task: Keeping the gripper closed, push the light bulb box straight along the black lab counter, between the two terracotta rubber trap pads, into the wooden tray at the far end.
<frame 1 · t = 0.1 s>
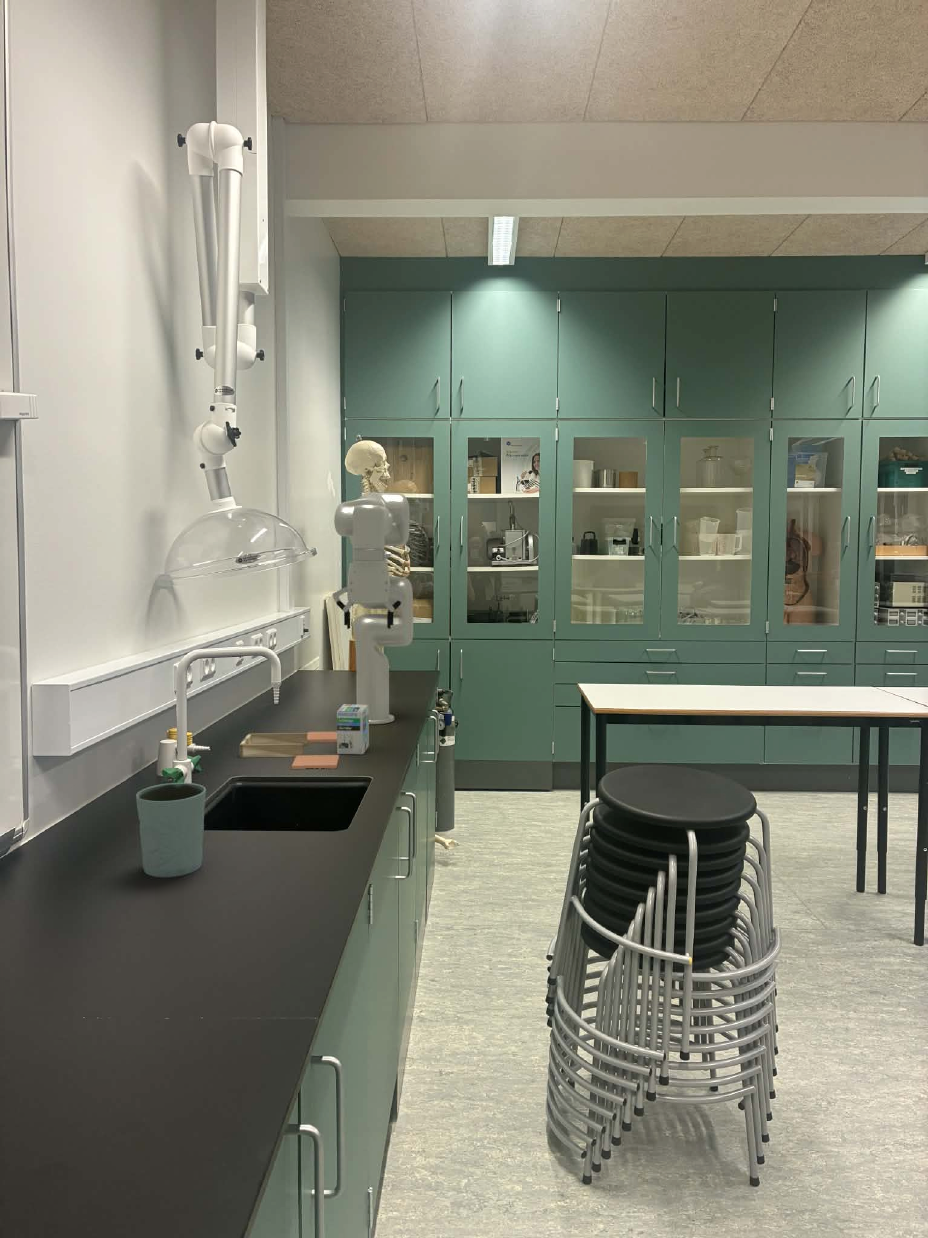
hand: (368, 628, 203), 31 cm above the countertop, fingers open, 9 cm apart
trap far: (325, 738, 225), on the countertop
light bulb box: (353, 750, 212), on the countertop
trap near: (316, 763, 197), on the countertop
wooden tray: (276, 750, 210), on the countertop
teal cup: (172, 869, 130), on the countertop
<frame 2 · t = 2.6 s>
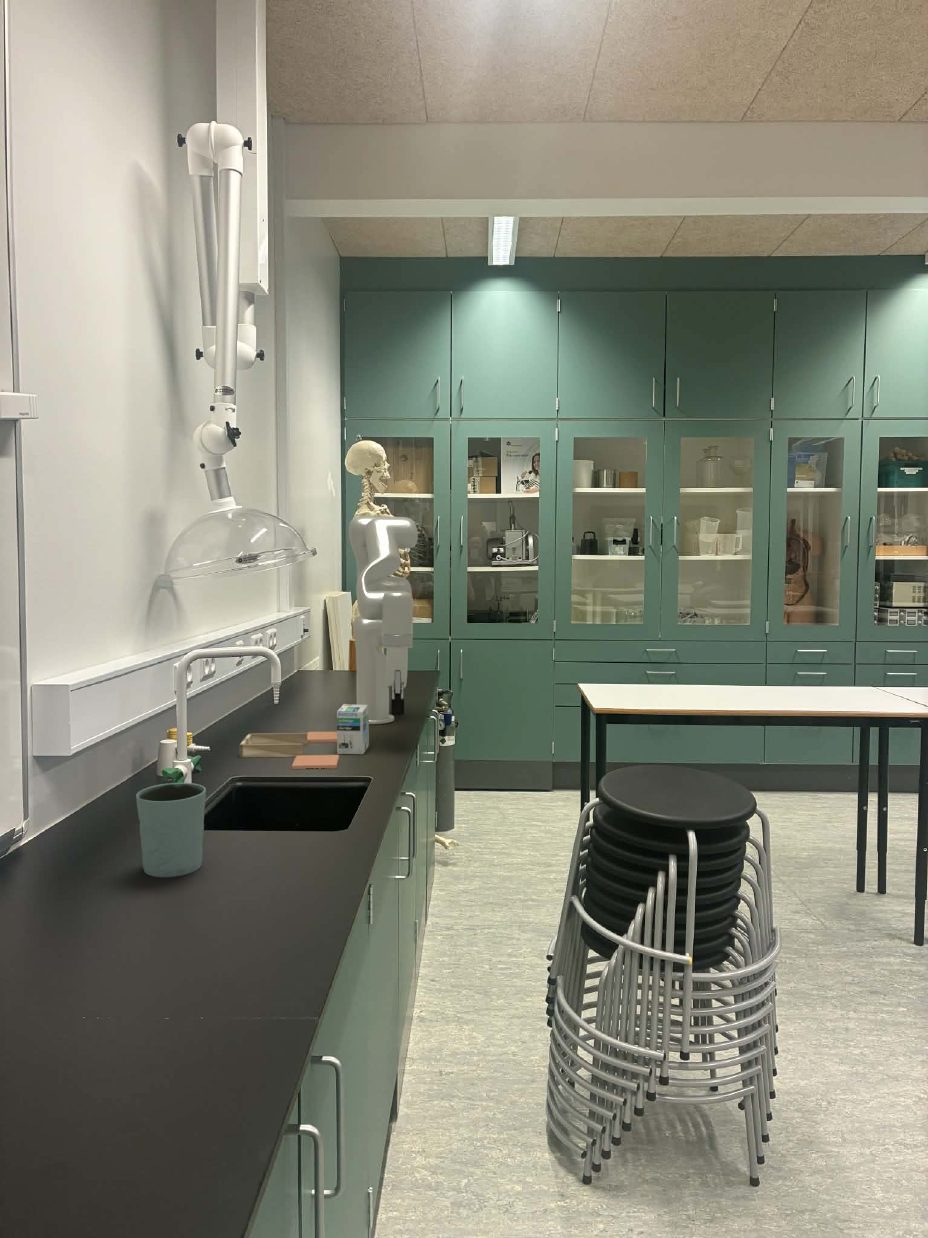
hand: (397, 714, 212), 9 cm above the countertop, fingers closed
nothing on the countertop moved.
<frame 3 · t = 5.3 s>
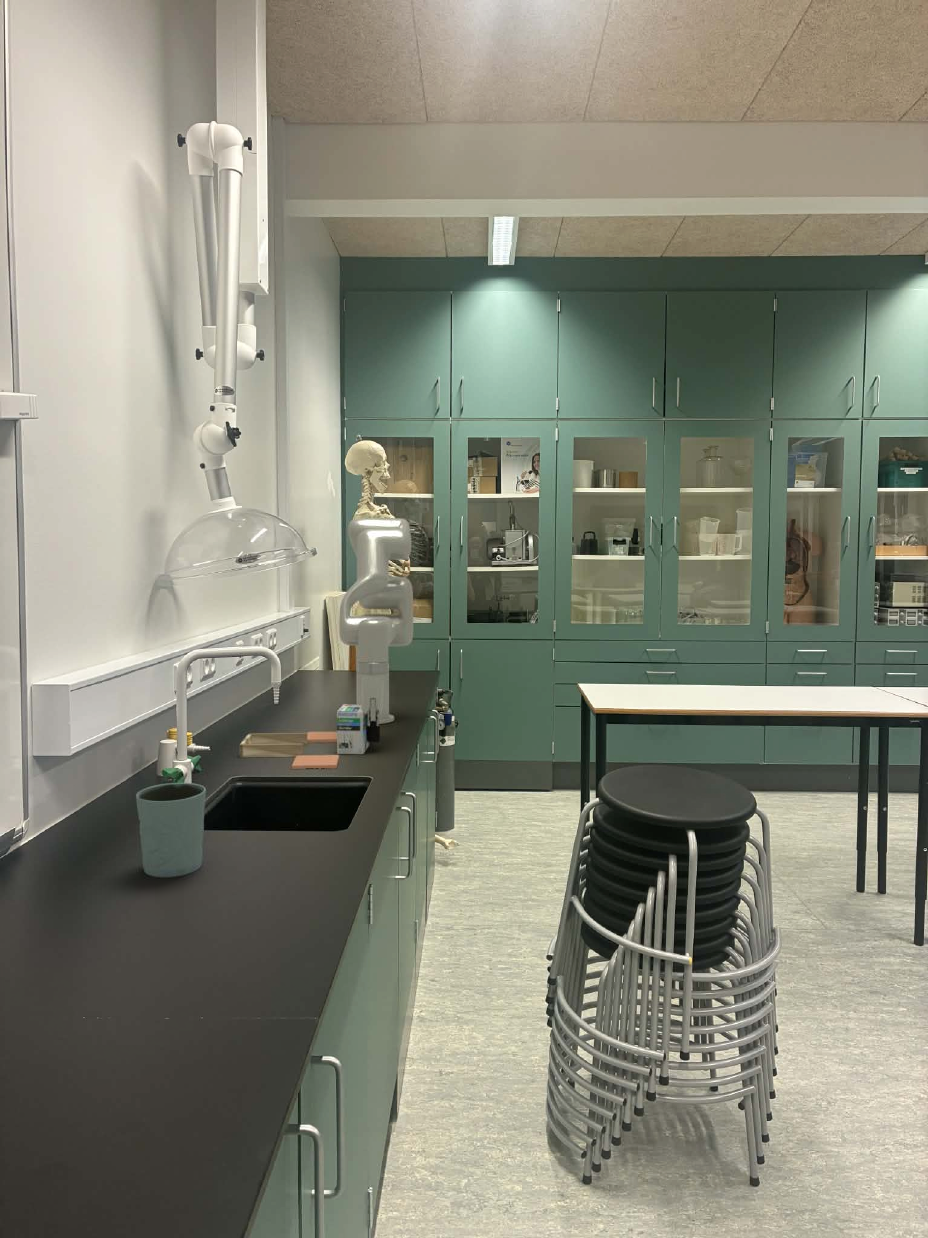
hand: (373, 741, 212), 2 cm above the countertop, fingers closed
light bulb box: (353, 750, 212), on the countertop, touching gripper
everything else where it was.
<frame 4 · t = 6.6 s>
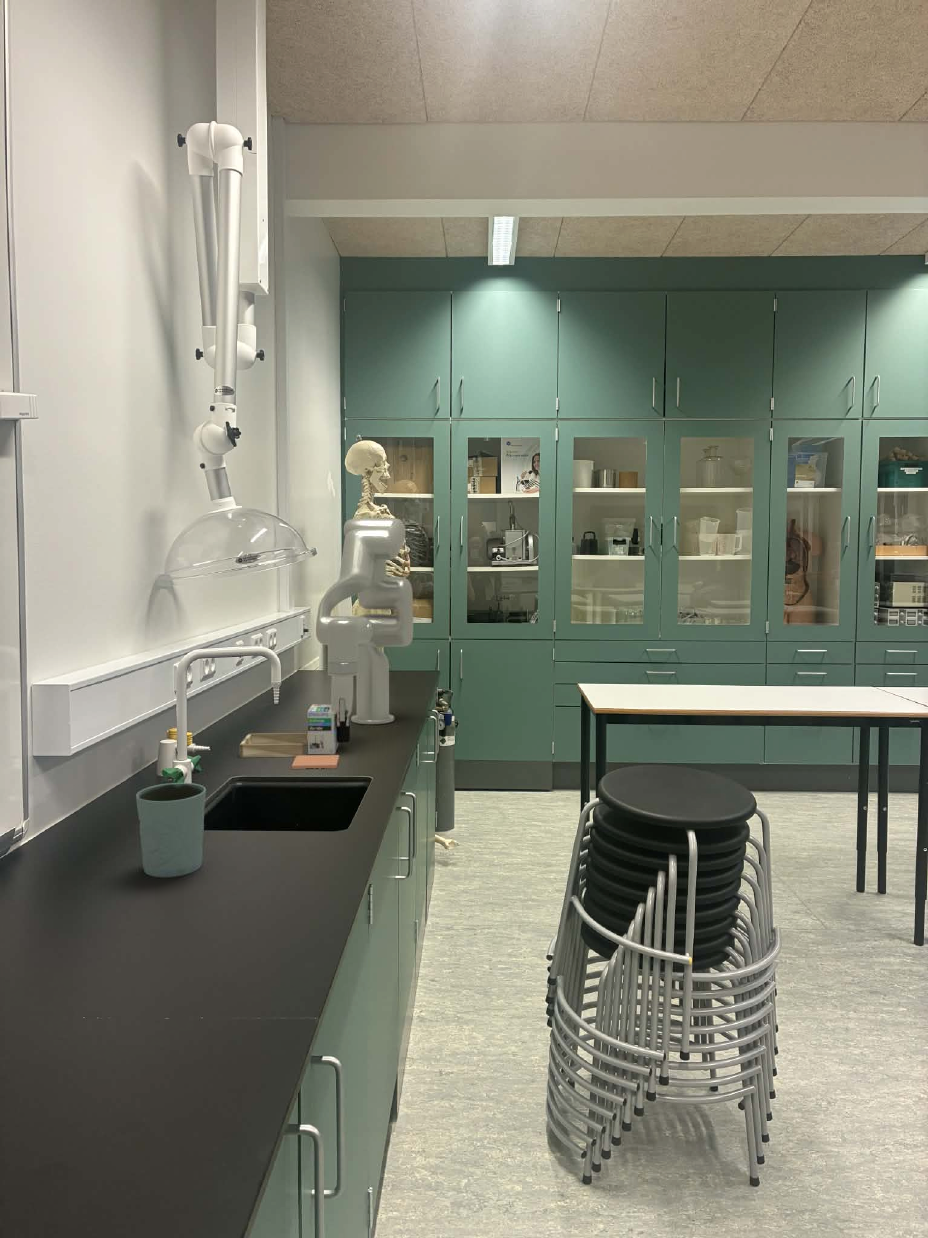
hand: (343, 741, 212), 2 cm above the countertop, fingers closed
light bulb box: (323, 751, 211), on the countertop, touching gripper
everything else where it was.
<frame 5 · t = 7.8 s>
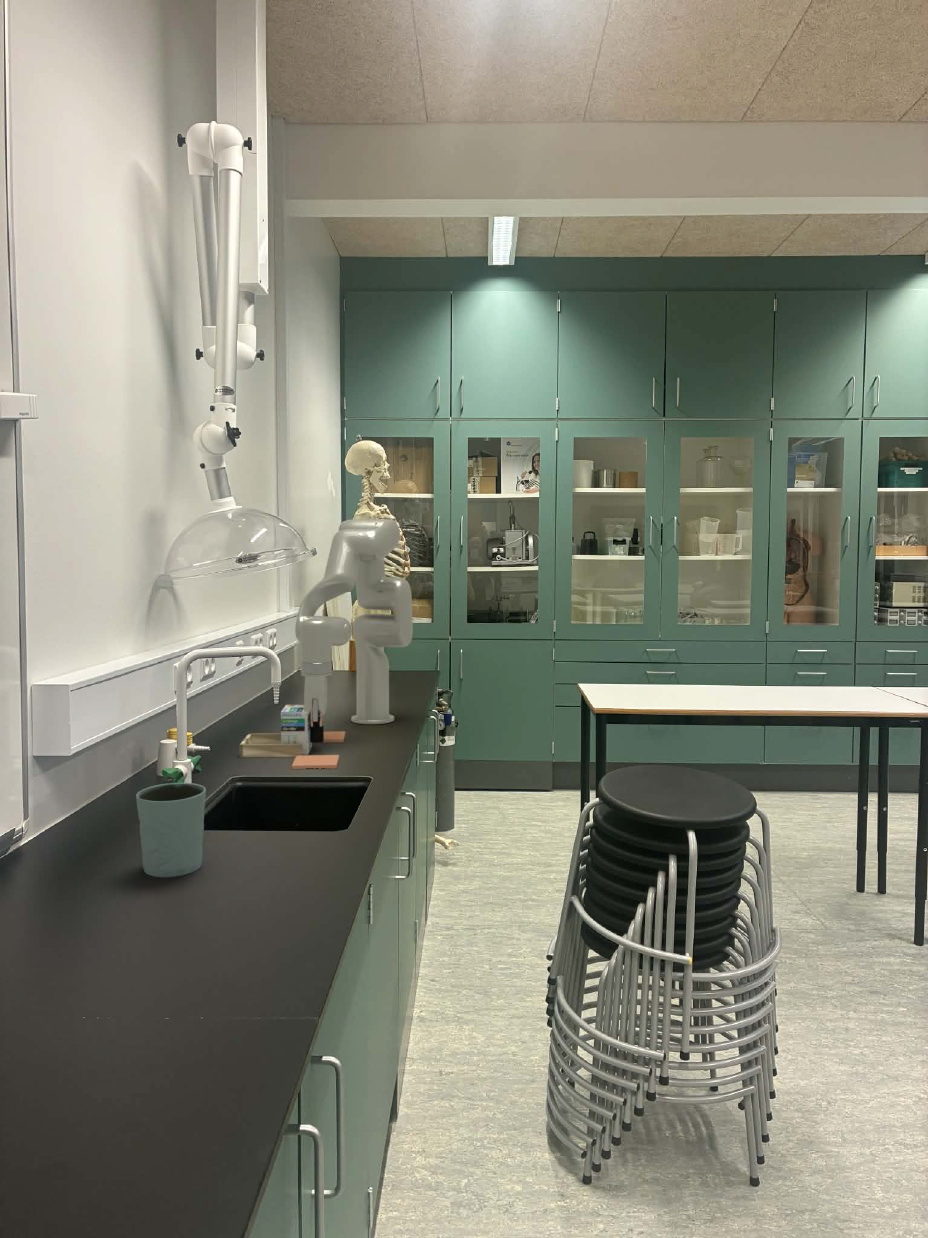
hand: (317, 741, 211), 2 cm above the countertop, fingers closed
light bulb box: (296, 751, 211), on the countertop, touching gripper
everything else where it was.
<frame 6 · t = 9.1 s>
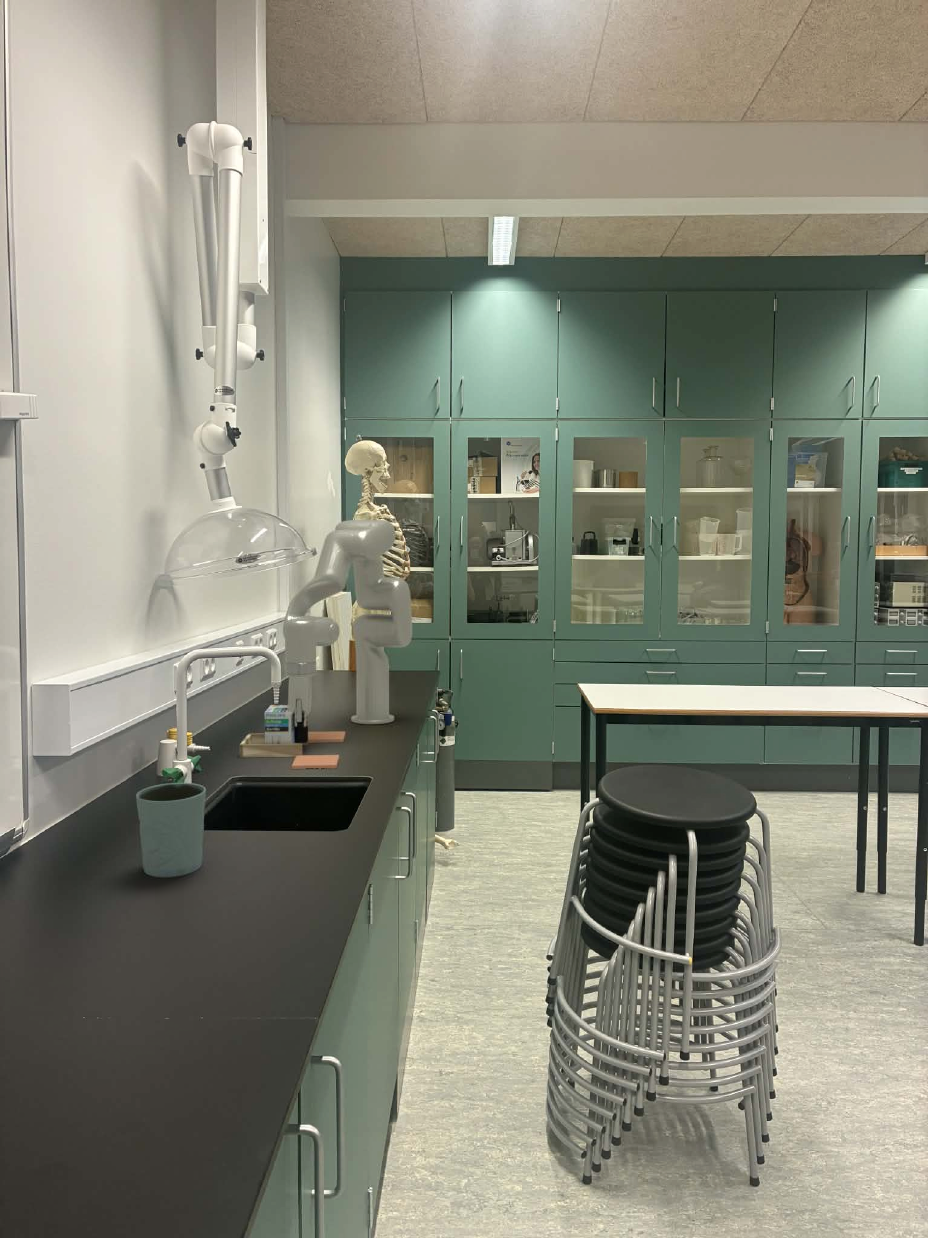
hand: (301, 742, 211), 2 cm above the countertop, fingers closed
light bulb box: (281, 751, 210), on the countertop, touching gripper
everything else where it was.
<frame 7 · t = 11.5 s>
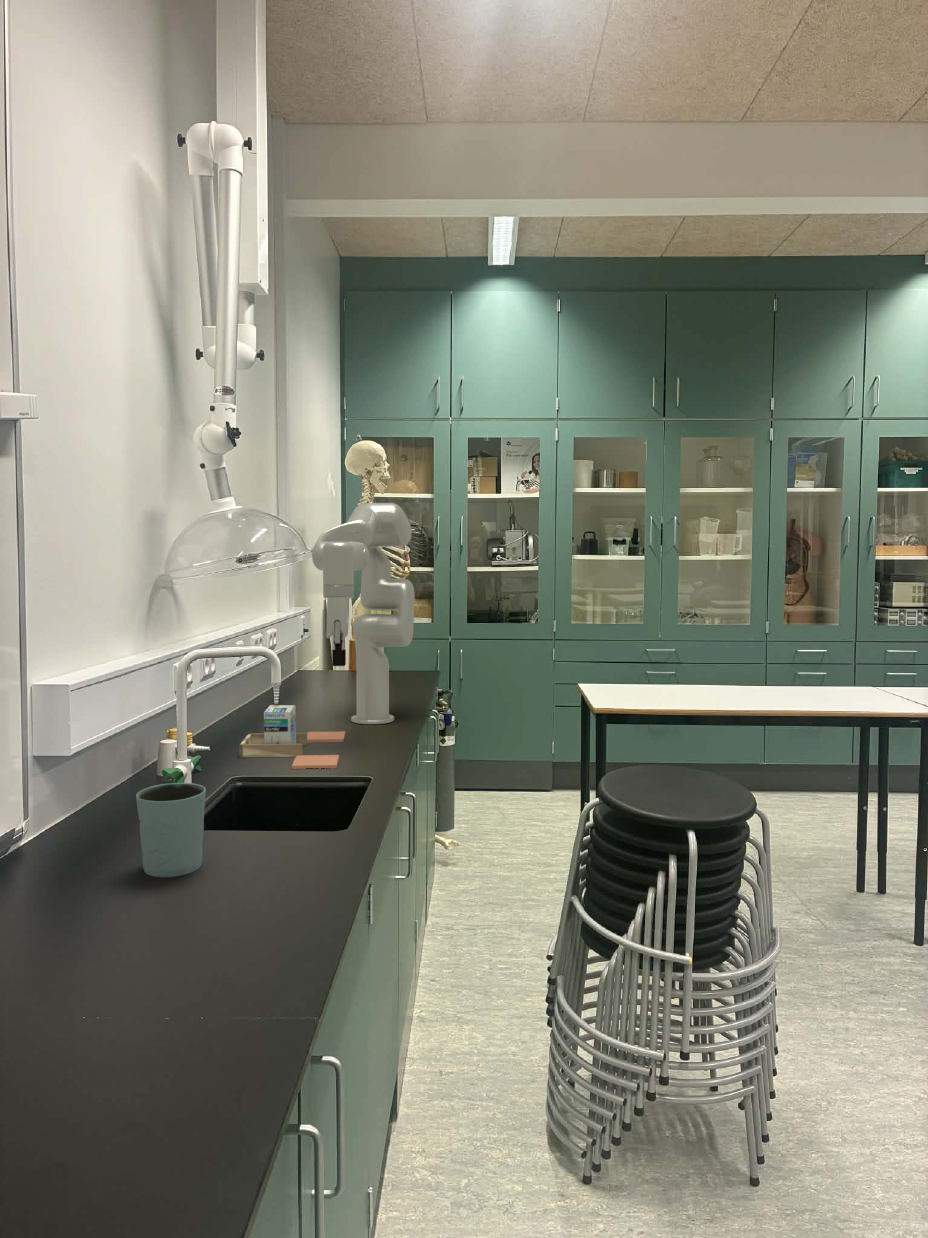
hand: (339, 665, 211), 21 cm above the countertop, fingers closed
light bulb box: (280, 751, 210), on the countertop
everything else where it was.
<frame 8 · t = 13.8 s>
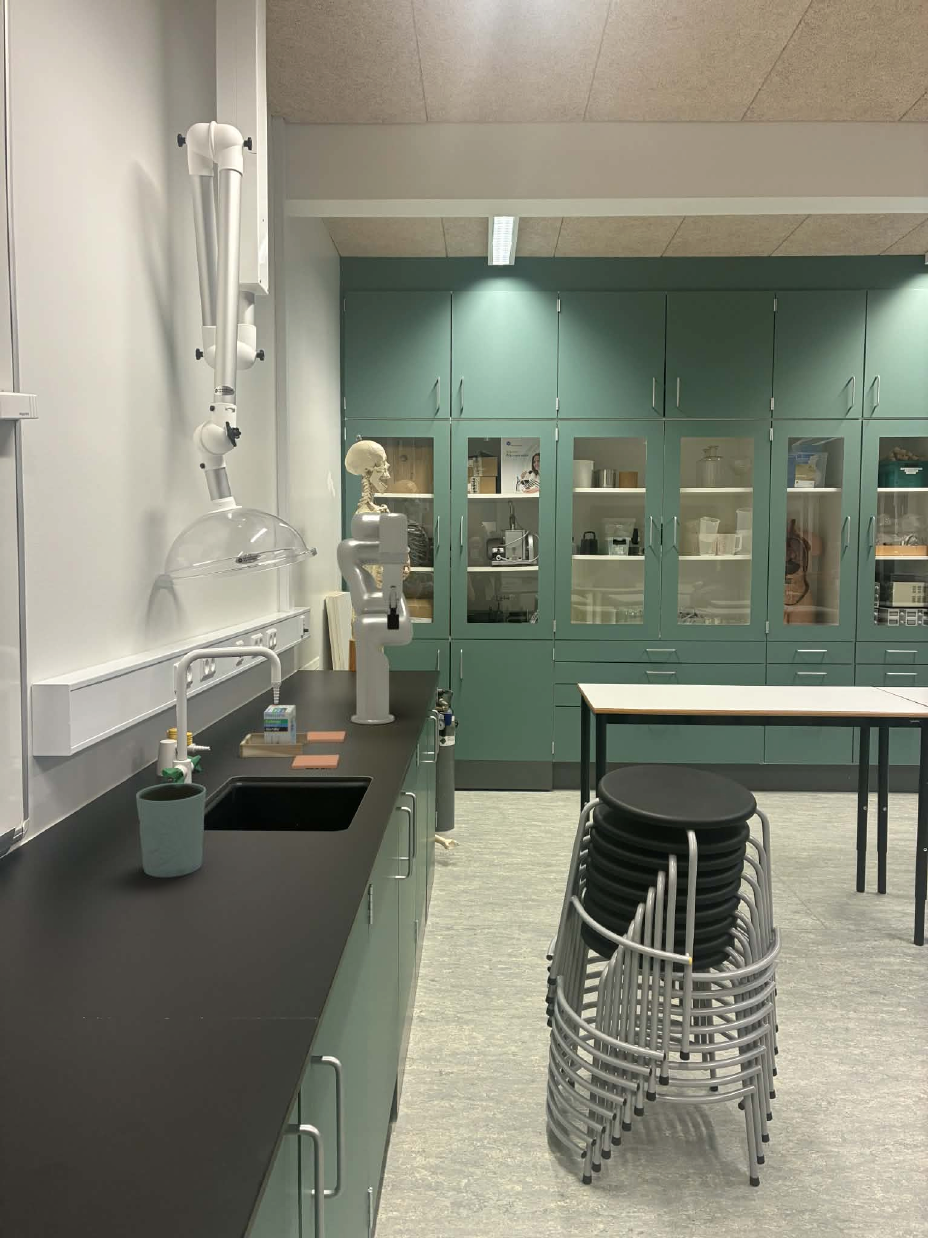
hand: (393, 629, 225), 29 cm above the countertop, fingers closed
nothing on the countertop moved.
at the end: light bulb box inside the target area on the wooden tray (4.4 cm from its centre), point 0.0 cm above the wooden tray's base; light bulb box tilted 0° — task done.
